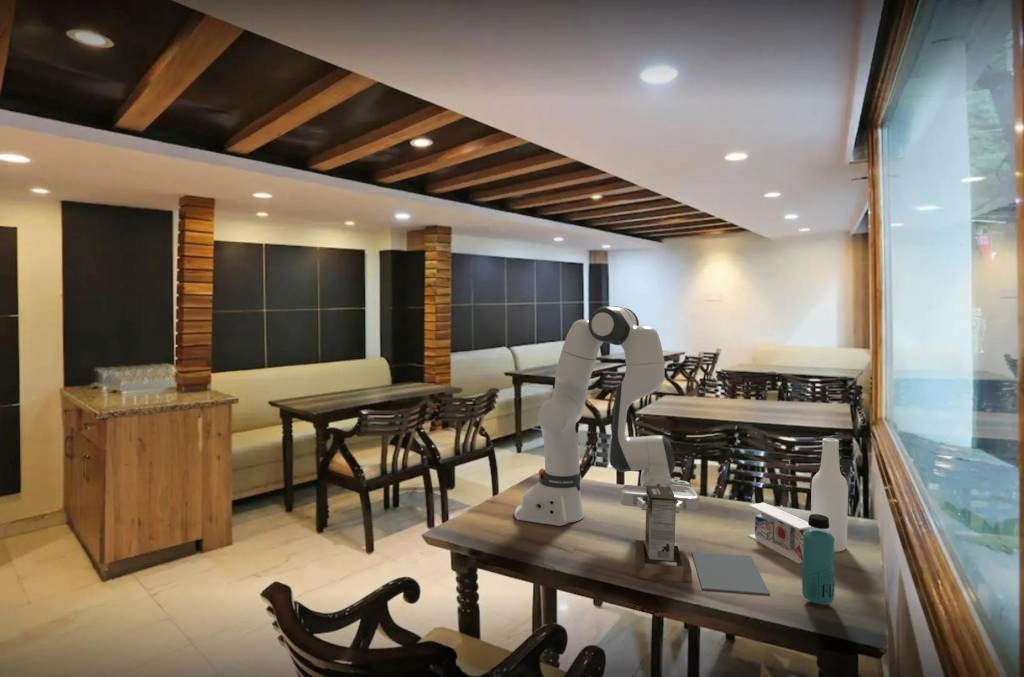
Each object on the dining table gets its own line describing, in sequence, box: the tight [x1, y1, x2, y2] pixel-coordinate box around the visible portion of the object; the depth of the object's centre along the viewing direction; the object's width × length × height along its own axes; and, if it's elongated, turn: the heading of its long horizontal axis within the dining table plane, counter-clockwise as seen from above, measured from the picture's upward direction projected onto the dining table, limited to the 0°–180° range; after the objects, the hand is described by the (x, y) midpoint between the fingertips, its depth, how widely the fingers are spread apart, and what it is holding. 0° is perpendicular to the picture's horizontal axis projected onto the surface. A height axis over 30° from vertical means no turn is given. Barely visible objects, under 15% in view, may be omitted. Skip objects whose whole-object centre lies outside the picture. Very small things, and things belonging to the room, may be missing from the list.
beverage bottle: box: [801, 513, 836, 605], centre depth 126 cm, size 6×7×20 cm
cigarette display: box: [747, 501, 814, 564], centre depth 155 cm, size 20×6×9 cm, turn 18°
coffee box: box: [644, 486, 677, 562], centre depth 145 cm, size 9×6×16 cm
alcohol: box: [810, 437, 849, 553], centre depth 156 cm, size 9×9×30 cm
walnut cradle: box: [634, 539, 693, 584], centre depth 146 cm, size 13×16×3 cm
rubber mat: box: [691, 551, 771, 596], centre depth 142 cm, size 15×20×1 cm
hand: (660, 508), depth 144 cm, fingers closed on coffee box, 6 cm apart
